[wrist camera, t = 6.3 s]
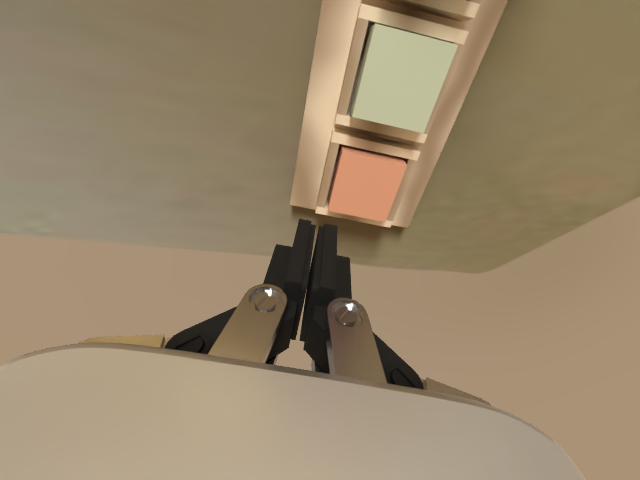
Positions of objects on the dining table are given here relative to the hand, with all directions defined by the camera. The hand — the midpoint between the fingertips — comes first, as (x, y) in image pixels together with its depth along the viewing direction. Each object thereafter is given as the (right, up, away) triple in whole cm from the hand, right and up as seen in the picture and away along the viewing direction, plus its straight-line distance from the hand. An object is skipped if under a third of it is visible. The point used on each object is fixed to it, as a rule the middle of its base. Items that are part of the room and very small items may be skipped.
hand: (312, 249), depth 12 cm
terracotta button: (+5, +7, +16) cm, 18 cm away
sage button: (+7, +14, +11) cm, 19 cm away
